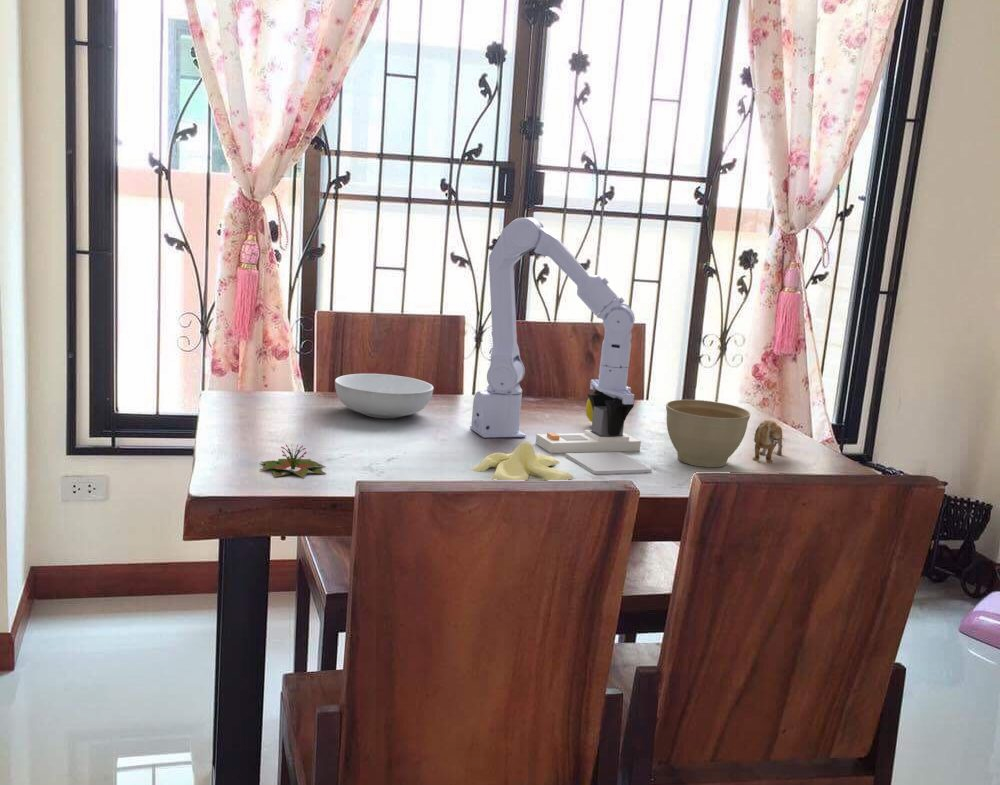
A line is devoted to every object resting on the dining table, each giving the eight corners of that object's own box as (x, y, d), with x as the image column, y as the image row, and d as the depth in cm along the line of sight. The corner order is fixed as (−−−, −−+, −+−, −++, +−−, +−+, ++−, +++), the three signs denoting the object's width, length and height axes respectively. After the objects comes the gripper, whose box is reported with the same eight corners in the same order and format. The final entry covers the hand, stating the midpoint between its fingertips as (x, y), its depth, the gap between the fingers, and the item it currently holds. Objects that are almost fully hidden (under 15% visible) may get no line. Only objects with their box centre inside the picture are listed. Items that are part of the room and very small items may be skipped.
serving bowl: (427, 429, 206) (429, 396, 205) (324, 420, 206) (326, 387, 205) (435, 407, 226) (437, 377, 225) (342, 399, 226) (344, 369, 225)
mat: (594, 474, 183) (594, 471, 183) (565, 456, 194) (565, 453, 194) (651, 472, 188) (651, 469, 188) (619, 454, 199) (620, 451, 199)
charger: (600, 440, 201) (603, 410, 200) (590, 435, 205) (593, 406, 203) (622, 439, 203) (625, 410, 202) (612, 434, 207) (616, 406, 205)
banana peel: (546, 457, 194) (549, 426, 193) (594, 486, 178) (597, 452, 177) (438, 461, 185) (441, 429, 184) (478, 492, 169) (481, 456, 167)
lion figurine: (776, 468, 199) (782, 424, 197) (749, 463, 201) (755, 420, 199) (783, 452, 213) (789, 411, 211) (757, 448, 214) (763, 407, 213)
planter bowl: (685, 446, 210) (691, 395, 208) (756, 464, 200) (764, 411, 198) (644, 458, 198) (651, 404, 196) (718, 478, 188) (726, 421, 186)
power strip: (550, 453, 195) (551, 439, 195) (535, 443, 202) (536, 430, 201) (639, 450, 203) (641, 437, 203) (622, 441, 210) (624, 428, 209)
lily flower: (315, 459, 179) (317, 434, 178) (338, 479, 168) (340, 453, 167) (248, 463, 173) (249, 437, 172) (267, 484, 163) (268, 456, 162)
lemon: (607, 430, 219) (611, 394, 217) (582, 426, 220) (586, 391, 218) (610, 425, 224) (614, 389, 223) (585, 421, 225) (589, 386, 224)
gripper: (650, 372, 196) (642, 440, 199) (614, 358, 209) (607, 422, 212) (618, 372, 193) (611, 441, 196) (584, 358, 206) (577, 422, 209)
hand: (607, 431), depth 203 cm, fingers open, 5 cm apart
